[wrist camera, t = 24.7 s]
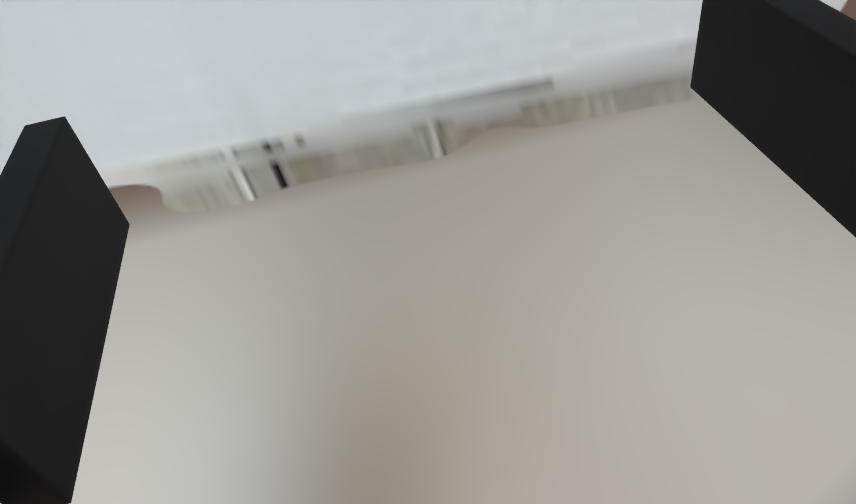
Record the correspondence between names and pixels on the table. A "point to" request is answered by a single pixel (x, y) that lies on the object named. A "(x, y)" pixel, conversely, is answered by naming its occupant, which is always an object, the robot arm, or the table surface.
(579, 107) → the table surface
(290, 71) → the table surface
